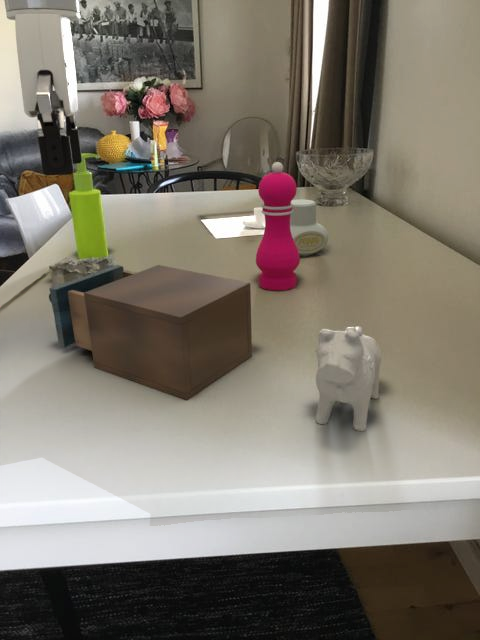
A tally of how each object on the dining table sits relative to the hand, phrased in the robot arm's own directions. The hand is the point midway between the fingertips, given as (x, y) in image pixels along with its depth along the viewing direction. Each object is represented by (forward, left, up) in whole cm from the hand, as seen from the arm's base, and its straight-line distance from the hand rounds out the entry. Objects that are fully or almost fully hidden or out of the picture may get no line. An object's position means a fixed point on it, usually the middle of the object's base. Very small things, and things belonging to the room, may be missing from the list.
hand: (64, 168), depth 67 cm
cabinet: (+13, -5, -23) cm, 26 cm away
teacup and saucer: (+17, +68, -23) cm, 73 cm away
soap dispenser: (-12, +41, -23) cm, 48 cm away
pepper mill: (+25, +24, -23) cm, 41 cm away
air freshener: (+29, +44, -23) cm, 57 cm away
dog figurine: (+33, -16, -23) cm, 43 cm away
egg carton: (-9, +26, -23) cm, 36 cm away
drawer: (+4, 0, -22) cm, 22 cm away
